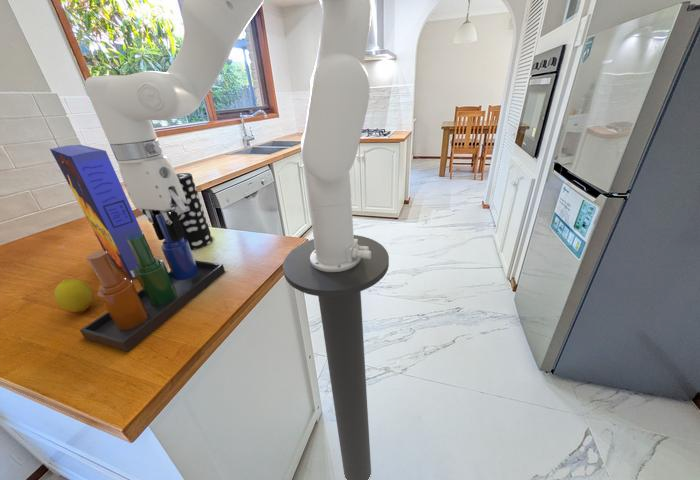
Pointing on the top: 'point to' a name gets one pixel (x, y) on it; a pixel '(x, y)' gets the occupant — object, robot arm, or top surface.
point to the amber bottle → (117, 293)
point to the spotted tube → (193, 215)
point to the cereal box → (101, 200)
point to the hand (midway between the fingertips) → (172, 237)
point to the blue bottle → (177, 254)
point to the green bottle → (151, 272)
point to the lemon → (73, 295)
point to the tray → (152, 310)
